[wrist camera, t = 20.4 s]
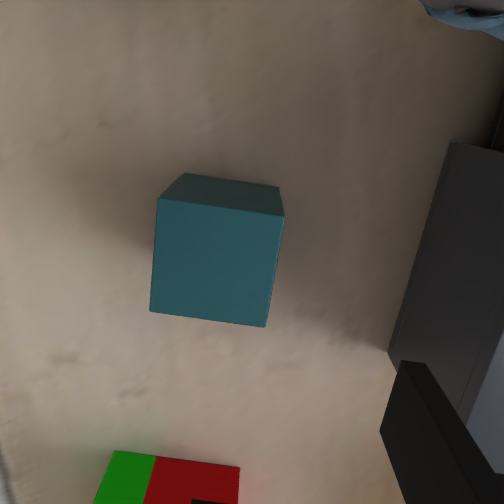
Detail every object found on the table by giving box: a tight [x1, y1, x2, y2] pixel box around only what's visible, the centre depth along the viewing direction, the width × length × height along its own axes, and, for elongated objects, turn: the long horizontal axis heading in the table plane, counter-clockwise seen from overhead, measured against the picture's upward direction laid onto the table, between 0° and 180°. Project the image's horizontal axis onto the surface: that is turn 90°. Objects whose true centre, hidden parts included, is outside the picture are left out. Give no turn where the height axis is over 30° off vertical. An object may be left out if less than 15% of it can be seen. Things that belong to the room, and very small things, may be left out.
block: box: [149, 173, 285, 328], centre depth 24 cm, size 6×6×7 cm
